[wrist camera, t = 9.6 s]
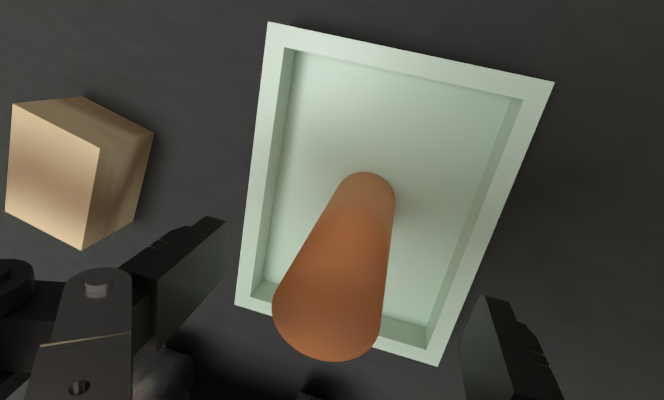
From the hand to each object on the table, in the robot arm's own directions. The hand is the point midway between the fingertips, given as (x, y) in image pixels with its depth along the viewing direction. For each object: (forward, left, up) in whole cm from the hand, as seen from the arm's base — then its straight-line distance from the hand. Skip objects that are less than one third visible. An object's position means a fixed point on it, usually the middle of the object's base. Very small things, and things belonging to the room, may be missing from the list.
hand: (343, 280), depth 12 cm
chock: (+2, -15, -8) cm, 17 cm away
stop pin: (0, 0, -7) cm, 7 cm away
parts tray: (0, 0, -8) cm, 8 cm away
